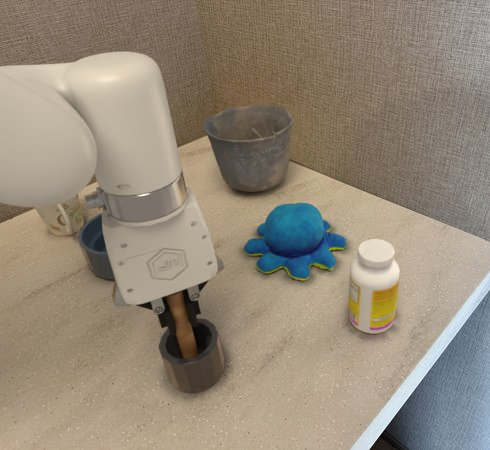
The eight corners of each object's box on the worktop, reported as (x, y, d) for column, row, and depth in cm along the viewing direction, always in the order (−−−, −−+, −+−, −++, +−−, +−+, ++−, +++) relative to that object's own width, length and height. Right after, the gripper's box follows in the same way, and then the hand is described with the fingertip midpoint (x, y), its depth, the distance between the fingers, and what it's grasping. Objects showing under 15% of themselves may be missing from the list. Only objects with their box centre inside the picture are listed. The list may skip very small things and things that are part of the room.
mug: (82, 209, 91) (65, 166, 85) (104, 237, 83) (87, 192, 77) (39, 226, 86) (18, 182, 81) (58, 257, 78) (36, 210, 73)
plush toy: (276, 295, 69) (272, 254, 64) (232, 239, 81) (226, 201, 76) (362, 257, 75) (365, 217, 70) (310, 210, 87) (309, 173, 82)
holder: (177, 403, 54) (167, 374, 51) (163, 360, 60) (153, 330, 56) (232, 378, 57) (226, 349, 54) (214, 339, 62) (207, 309, 59)
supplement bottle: (400, 311, 65) (410, 243, 58) (384, 342, 61) (392, 273, 53) (359, 295, 68) (363, 228, 61) (340, 324, 64) (341, 256, 56)
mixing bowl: (95, 293, 71) (83, 265, 67) (85, 245, 81) (74, 218, 77) (182, 263, 76) (175, 236, 72) (162, 222, 86) (155, 196, 82)
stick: (188, 375, 57) (165, 298, 48) (184, 364, 58) (161, 287, 50) (203, 369, 57) (183, 291, 49) (199, 358, 59) (178, 281, 51)
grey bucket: (287, 212, 87) (283, 142, 78) (202, 206, 90) (189, 138, 81) (301, 168, 101) (299, 104, 92) (227, 164, 104) (218, 102, 95)
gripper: (58, 238, 36) (118, 374, 47) (238, 187, 42) (255, 319, 53) (52, 196, 42) (108, 327, 53) (212, 156, 48) (233, 281, 58)
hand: (181, 322), depth 53 cm, fingers closed on stick, 2 cm apart
